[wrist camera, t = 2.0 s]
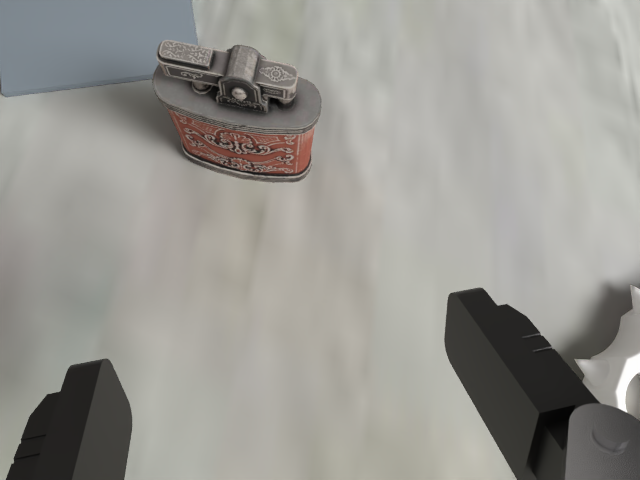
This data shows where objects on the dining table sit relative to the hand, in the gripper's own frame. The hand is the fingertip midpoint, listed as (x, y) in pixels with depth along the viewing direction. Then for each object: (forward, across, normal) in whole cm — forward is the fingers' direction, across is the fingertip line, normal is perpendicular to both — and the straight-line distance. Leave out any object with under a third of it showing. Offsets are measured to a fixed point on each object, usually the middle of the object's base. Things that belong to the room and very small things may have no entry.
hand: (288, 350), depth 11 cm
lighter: (+20, 0, +3) cm, 21 cm away
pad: (+29, +8, -6) cm, 30 cm away
